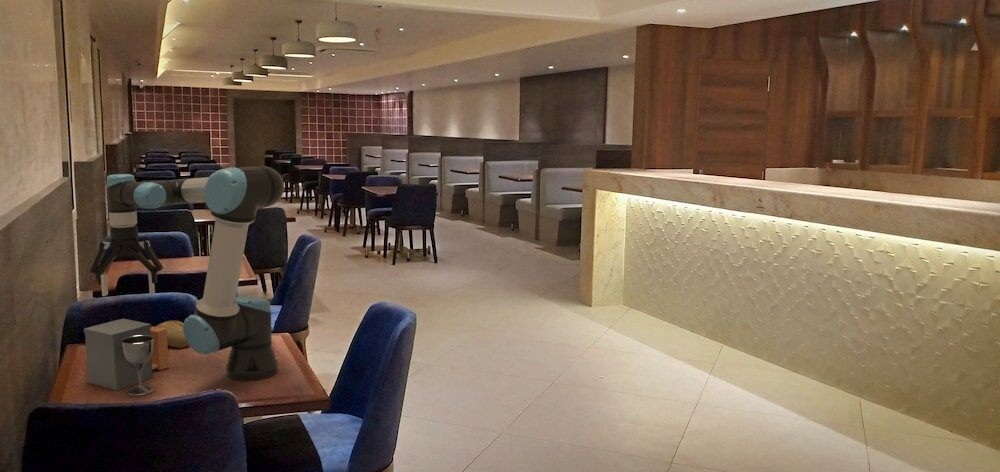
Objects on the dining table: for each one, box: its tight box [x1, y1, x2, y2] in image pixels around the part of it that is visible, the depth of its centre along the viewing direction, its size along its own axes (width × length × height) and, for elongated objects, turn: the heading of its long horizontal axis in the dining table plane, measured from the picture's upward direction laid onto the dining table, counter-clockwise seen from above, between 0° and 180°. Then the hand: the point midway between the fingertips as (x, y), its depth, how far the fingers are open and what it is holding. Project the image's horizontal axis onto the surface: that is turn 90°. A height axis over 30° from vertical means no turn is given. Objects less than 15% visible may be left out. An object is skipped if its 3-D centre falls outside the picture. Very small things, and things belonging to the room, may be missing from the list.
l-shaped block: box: [150, 325, 169, 371], centre depth 229 cm, size 6×11×12 cm, turn 153°
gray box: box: [83, 318, 154, 391], centre depth 221 cm, size 12×13×16 cm
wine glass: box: [122, 335, 155, 396], centre depth 213 cm, size 8×8×15 cm
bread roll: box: [155, 320, 189, 349], centre depth 256 cm, size 10×15×8 cm, turn 69°
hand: (128, 294), depth 233 cm, fingers open, 13 cm apart
